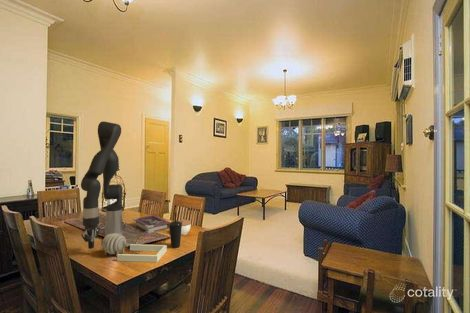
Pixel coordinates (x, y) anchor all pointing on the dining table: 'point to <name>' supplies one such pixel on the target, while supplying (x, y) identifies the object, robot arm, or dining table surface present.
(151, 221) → the book
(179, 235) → the drinking cup
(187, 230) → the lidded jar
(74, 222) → the dining table surface
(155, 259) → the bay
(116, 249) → the grey ridged rounded piece
